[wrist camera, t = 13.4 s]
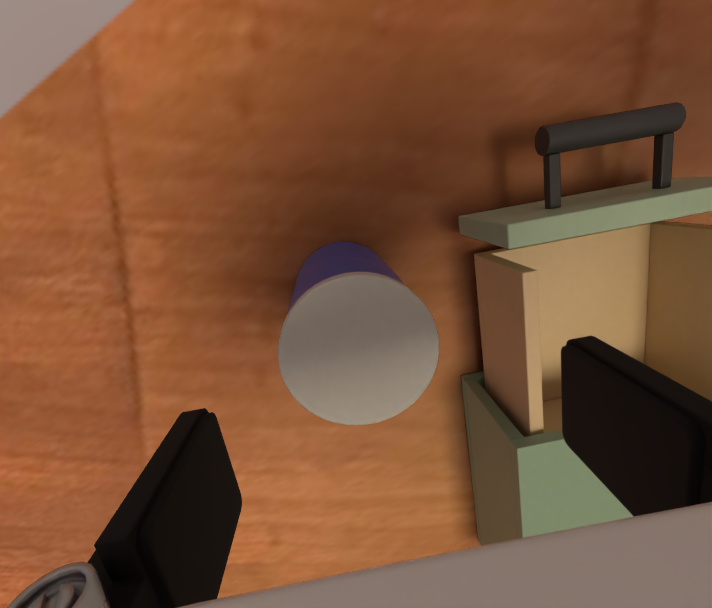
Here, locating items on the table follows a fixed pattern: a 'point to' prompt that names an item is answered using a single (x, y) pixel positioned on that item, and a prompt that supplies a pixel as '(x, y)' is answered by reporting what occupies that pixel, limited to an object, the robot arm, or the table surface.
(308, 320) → the tube
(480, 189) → the table surface
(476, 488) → the cabinet
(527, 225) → the drawer
